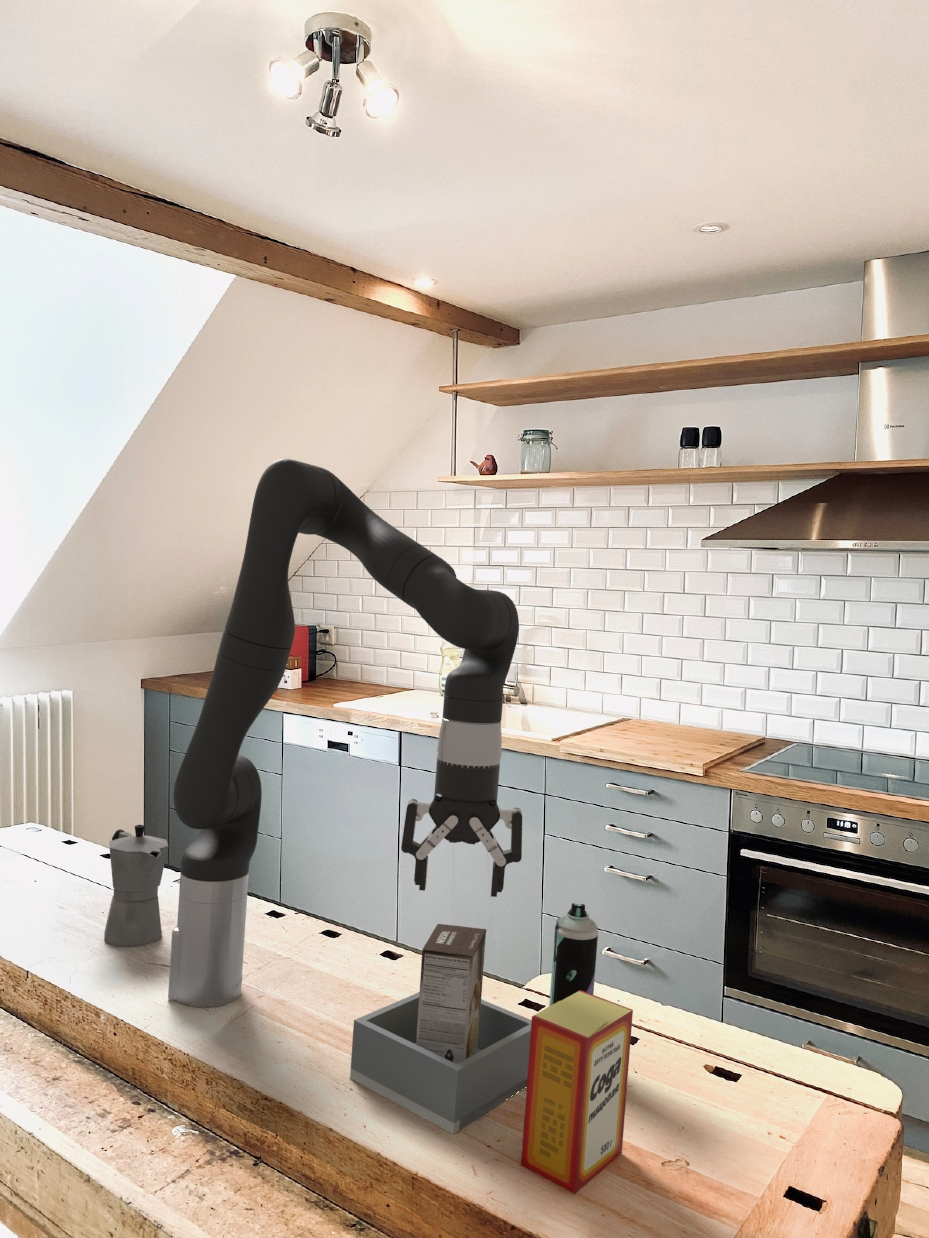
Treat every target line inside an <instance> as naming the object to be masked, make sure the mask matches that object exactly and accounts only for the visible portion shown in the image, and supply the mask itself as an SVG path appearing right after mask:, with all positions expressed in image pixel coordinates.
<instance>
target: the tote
mask: <svg viewBox="0 0 929 1238" xmlns="http://www.w3.org/2000/svg"><path fill="white" fill-rule="evenodd" d="M419 993H420V991H419V992H416V993H414V994H412V995H409V996H407V997H404V998H402V999H400V1000H397V1001H396V1002H393V1003H390V1004H388V1005H386V1006H384V1007H381V1008H379V1009H377V1010H375V1011H372V1012H370V1013H367V1014H364V1015H363V1016H361V1017H358V1018H356V1019H354V1020H353V1031H352V1042H351V1044H352V1046H351V1056H350V1057H351V1058H350V1073H349V1074H350V1075H349V1079H351V1080H353V1081H355V1082H356V1083H358V1084H360V1085H362V1086H364V1087H365V1088H367V1089H369V1090H371V1091H373V1092H375V1093H376V1094H378V1095H380V1096H382V1097H384V1098H386V1099H388V1100H389V1101H391V1102H392V1103H395V1104H397V1105H399V1106H401V1107H402V1108H405V1109H406V1110H408V1111H409V1112H412V1113H414V1114H415V1115H417V1116H419V1117H420V1118H422V1119H425V1120H426V1121H429V1122H430V1123H431V1124H434V1125H436V1126H437V1127H439V1128H441V1129H442V1130H445V1131H447V1132H448V1133H449V1134H452V1135H455V1134H456V1133H457V1132H459V1131H460V1130H462V1129H464V1128H465V1127H467V1126H468V1125H470V1124H472V1123H473V1122H475V1121H477V1120H479V1118H481V1117H483V1116H484V1115H486V1114H487V1112H488V1113H490V1111H492V1110H494V1109H495V1108H497V1107H498V1106H497V1105H499V1106H500V1105H502V1104H503V1103H505V1102H506V1101H507V1100H506V1099H508V1098H510V1097H511V1096H512V1095H514V1096H516V1095H517V1094H516V1093H517V1092H518V1091H521V1090H522V1089H524V1088H525V1087H527V1075H528V1062H529V1048H530V1035H531V1022H532V1019H530V1018H527V1017H524V1016H523V1015H520V1014H517V1013H515V1012H513V1011H510V1010H508V1009H506V1008H503V1007H500V1006H498V1005H496V1004H493V1003H492V1002H489V1001H487V1000H484V999H482V998H481V1011H480V1025H479V1039H478V1053H476V1054H474V1055H472V1056H470V1057H469V1058H467V1059H465V1060H463V1061H461V1062H459V1063H458V1064H455V1063H453V1062H451V1061H449V1060H447V1059H445V1058H443V1057H441V1056H439V1055H437V1054H435V1053H433V1052H430V1051H428V1050H426V1049H424V1048H422V1047H420V1046H418V1045H416V1037H417V1022H418V1008H419ZM525 1089H526V1088H525ZM525 1089H524V1090H525ZM522 1091H523V1090H522ZM522 1091H521V1092H522ZM515 1094H516V1095H515ZM511 1098H512V1097H511ZM511 1098H510V1099H511ZM508 1100H509V1099H508ZM504 1101H505V1102H504ZM502 1102H503V1103H502ZM501 1103H502V1104H501ZM491 1109H492V1110H491Z"/></svg>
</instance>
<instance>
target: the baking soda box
mask: <svg viewBox="0 0 929 1238" xmlns="http://www.w3.org/2000/svg"><path fill="white" fill-rule="evenodd" d="M633 1012H634V1009H632V1008H629V1007H627V1006H623V1005H622V1004H619V1003H616V1002H613V1001H611V1000H607V999H605V998H602V997H601V996H598V995H595V994H593V995H592V994H589V993H587V992H584V991H581V990H580V991H578V992H576V993H574V994H573V995H571V996H569V997H567V998H565V999H563V1000H562V1001H558V1002H557V1003H555V1004H553V1005H551V1006H550V1007H549V1006H548V1007H546V1008H545V1009H543V1010H541V1011H539V1012H537V1013H536V1014H534V1015H532V1016H531V1020H532V1022H531V1035H530V1048H529V1062H528V1075H527V1088H525V1090H526V1091H525V1105H524V1106H525V1107H524V1119H523V1129H522V1130H523V1131H522V1142H521V1143H522V1145H521V1156H520V1157H521V1158H520V1166H521V1167H523V1168H524V1169H527V1170H529V1171H530V1172H532V1173H534V1174H536V1175H538V1176H540V1177H542V1178H544V1179H545V1180H547V1181H549V1182H551V1183H552V1184H555V1185H557V1186H558V1187H561V1189H565V1190H566V1191H568V1192H570V1193H572V1194H573V1195H575V1194H576V1193H578V1192H579V1191H580V1190H581V1189H582V1188H584V1186H586V1185H587V1184H588V1183H590V1182H591V1181H592V1180H593V1179H594V1178H595V1177H596V1176H597V1175H599V1174H600V1173H601V1172H602V1171H603V1170H605V1169H606V1168H607V1167H608V1166H609V1165H610V1164H611V1163H612V1162H614V1161H616V1159H618V1157H620V1156H621V1155H622V1154H623V1143H624V1141H623V1140H624V1130H625V1129H624V1128H625V1115H626V1102H627V1090H628V1080H629V1079H628V1077H629V1076H628V1075H629V1066H630V1065H629V1064H630V1055H631V1054H630V1053H631V1041H632V1040H631V1037H632V1025H633Z"/></svg>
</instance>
